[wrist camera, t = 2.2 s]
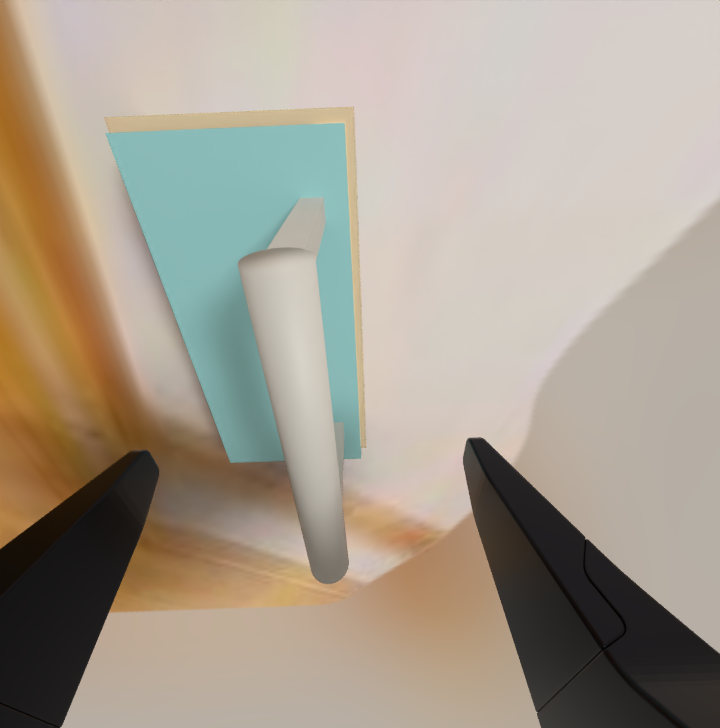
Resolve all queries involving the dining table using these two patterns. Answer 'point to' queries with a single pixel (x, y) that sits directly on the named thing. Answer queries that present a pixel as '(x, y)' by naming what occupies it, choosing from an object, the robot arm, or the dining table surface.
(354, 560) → the dining table surface
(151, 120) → the carton
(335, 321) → the lid flap
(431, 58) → the dining table surface
